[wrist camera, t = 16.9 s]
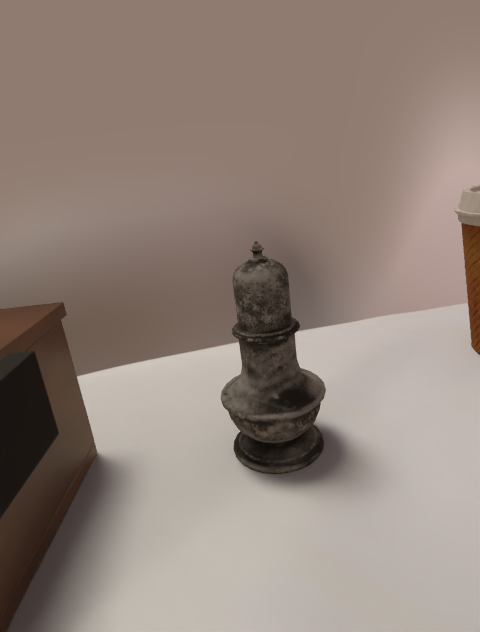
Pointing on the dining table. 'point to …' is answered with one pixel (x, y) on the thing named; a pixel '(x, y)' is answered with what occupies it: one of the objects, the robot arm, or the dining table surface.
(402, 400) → the dining table surface
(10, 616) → the tea box
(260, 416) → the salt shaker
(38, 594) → the dining table surface
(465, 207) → the disposable coffee cup
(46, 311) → the lid
